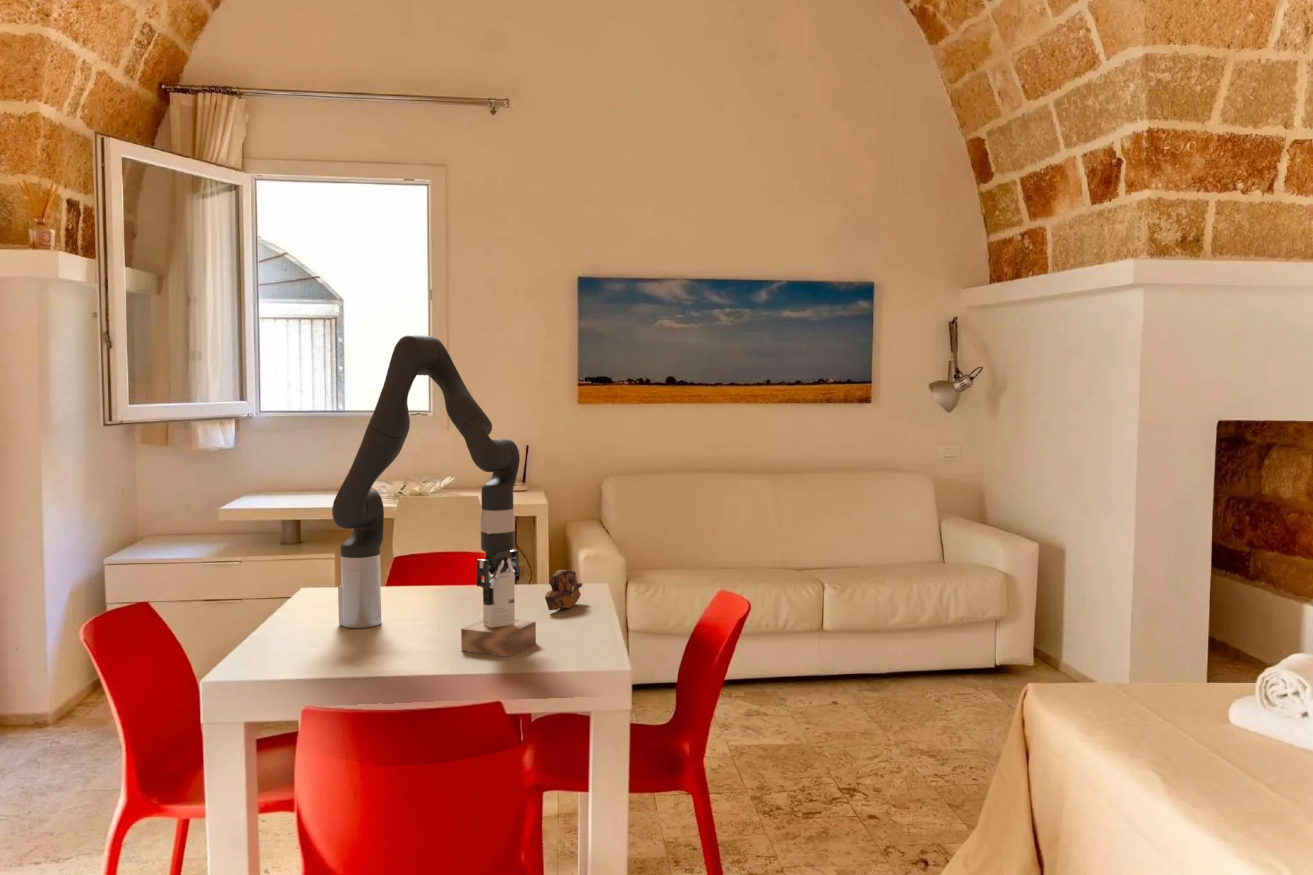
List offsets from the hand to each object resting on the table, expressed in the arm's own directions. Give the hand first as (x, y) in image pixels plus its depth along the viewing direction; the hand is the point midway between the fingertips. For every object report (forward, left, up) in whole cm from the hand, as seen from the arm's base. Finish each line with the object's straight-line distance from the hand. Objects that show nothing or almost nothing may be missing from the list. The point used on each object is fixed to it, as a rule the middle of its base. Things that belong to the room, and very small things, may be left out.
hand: (498, 600), depth 225 cm
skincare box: (0, 0, -6) cm, 6 cm away
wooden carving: (-3, +38, -11) cm, 40 cm away
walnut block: (0, 0, -11) cm, 11 cm away
